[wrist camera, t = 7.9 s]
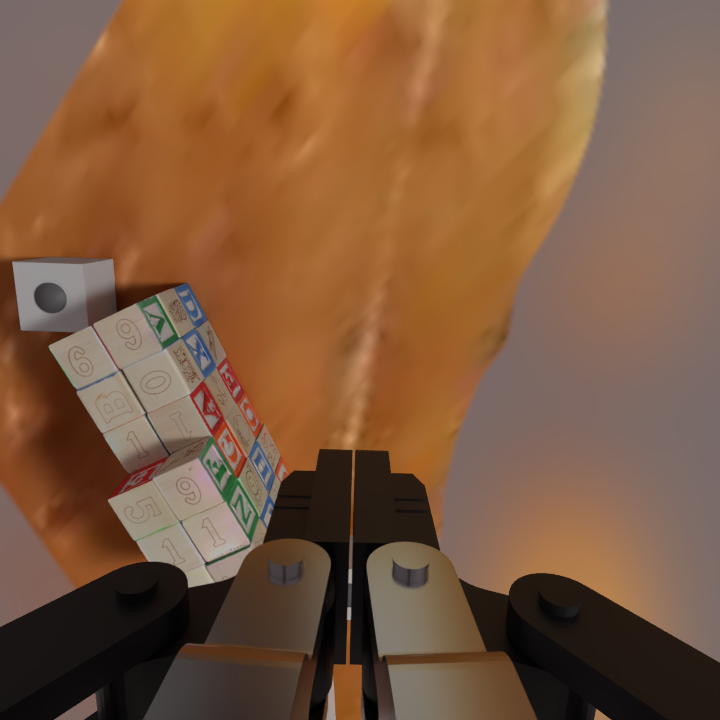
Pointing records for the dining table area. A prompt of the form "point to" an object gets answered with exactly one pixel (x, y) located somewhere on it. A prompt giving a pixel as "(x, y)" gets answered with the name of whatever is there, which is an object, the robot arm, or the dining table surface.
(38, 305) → the grey marked cube
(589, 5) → the dining table surface
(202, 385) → the stack of blocks
